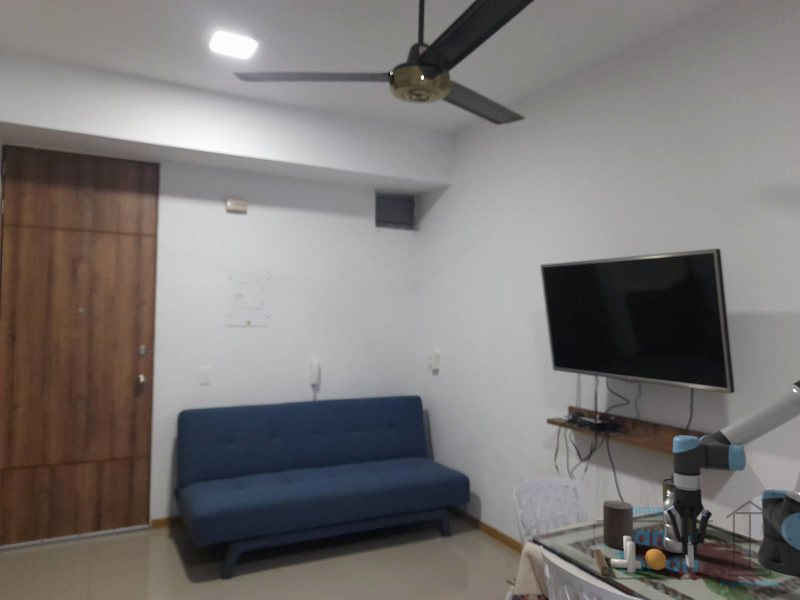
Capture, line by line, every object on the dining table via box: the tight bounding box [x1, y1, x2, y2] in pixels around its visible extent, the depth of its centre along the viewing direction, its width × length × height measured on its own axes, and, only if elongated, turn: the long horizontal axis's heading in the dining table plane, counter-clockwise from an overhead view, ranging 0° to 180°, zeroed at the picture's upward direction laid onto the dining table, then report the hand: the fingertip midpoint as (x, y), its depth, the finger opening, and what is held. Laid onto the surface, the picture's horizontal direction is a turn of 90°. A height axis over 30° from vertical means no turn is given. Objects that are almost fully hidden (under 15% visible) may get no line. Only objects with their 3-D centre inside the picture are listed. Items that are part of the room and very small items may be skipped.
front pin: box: [610, 558, 642, 570], centre depth 176 cm, size 2×2×8 cm
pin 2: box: [626, 541, 637, 574], centre depth 174 cm, size 2×2×8 cm
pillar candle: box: [602, 499, 634, 550], centre depth 196 cm, size 10×10×15 cm
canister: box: [661, 473, 690, 535], centre depth 211 cm, size 11×10×20 cm
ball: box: [644, 548, 667, 571], centre depth 175 cm, size 6×6×6 cm
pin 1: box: [623, 536, 632, 560], centre depth 179 cm, size 2×2×8 cm
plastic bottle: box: [662, 490, 683, 554], centre depth 189 cm, size 6×7×20 cm
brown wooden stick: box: [593, 548, 609, 576], centre depth 178 cm, size 2×14×2 cm, turn 170°
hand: (690, 565), depth 173 cm, fingers closed
